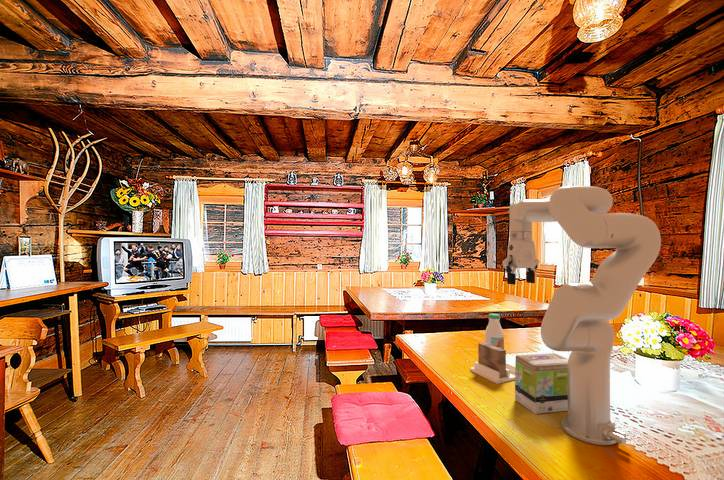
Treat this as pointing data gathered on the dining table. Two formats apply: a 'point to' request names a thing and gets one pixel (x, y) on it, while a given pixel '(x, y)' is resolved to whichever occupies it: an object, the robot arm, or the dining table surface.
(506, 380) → the rack
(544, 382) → the tea box
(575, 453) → the dining table surface
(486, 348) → the walnut board
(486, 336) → the milk bottle
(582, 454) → the dining table surface
